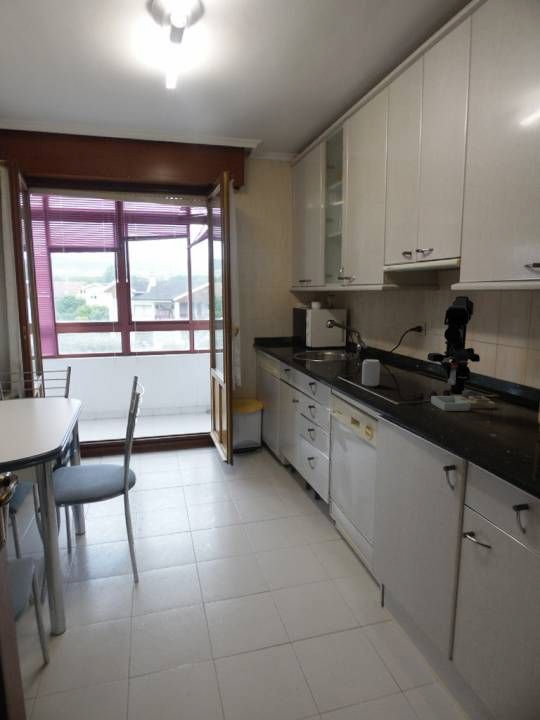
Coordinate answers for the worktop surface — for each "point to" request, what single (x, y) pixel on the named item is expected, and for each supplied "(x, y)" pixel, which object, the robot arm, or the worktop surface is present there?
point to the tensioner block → (476, 399)
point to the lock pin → (452, 374)
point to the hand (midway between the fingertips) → (451, 378)
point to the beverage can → (370, 372)
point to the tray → (450, 403)
